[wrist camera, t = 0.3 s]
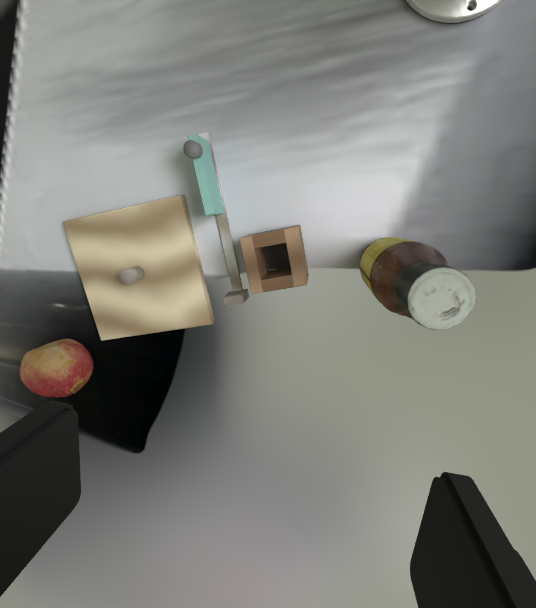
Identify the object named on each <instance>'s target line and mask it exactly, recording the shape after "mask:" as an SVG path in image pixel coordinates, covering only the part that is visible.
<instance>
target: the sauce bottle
mask: <svg viewBox="0 0 536 608" xmlns="http://www.w3.org/2000/svg"><path fill="white" fill-rule="evenodd" d="M360 271H361V275H362V278H363V280H364V282H365V283H366V285H367V286H368V287H369V289H370V290H371V291H372V293H373V294H374V296H375V297H376V298H377V299H378V300H379V302H381V303H382V304H383V305H384V306H385V307H386V308H387V309H388V310H390V311H391V312H394V313H397V314H399V315H403V316H407V317H409V318H412V319H413V320H415V321H416V322H417V323H418V324H420V325H422V326H424V327H426V328H429V329H432V330H444V329H449V328H452V327H455V326H457V325H458V324H460V323H461V322H462V321H463V320H464V319H465V318H466V317H467V316H468V315H469V314H470V312H471V311H472V309H473V307H474V303H475V300H476V297H475V296H476V293H475V289H474V286H473V284H472V282H471V281H470V279H469V278H468V276H467V275H465V274H464V273H463V272H461V271H459V270H457V269H455V268H453V267H450V266H449V264H448V262H447V261H446V259H445V258H444V256H443V255H442V254H441V253H440V252H439V251H437V250H436V249H434V248H433V247H431V246H429V245H426V244H423V243H420V242H414V241H410V240H406V239H400V238H393V237H388V238H382V239H379V240H377V241H375V242H374V243H372V244H371V245H370V246H368V247H367V248H366V249H365V252H364V254H363V255H362V258H361V262H360Z"/></svg>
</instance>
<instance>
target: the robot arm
mask: <svg viewBox="0 0 536 608" xmlns="http://www.w3.org/2000/svg"><path fill="white" fill-rule="evenodd" d="M406 1H407V3H408V4H409V5H410V6H411V7H412V8H413V9H414V10H415V11H417V12H418V13H419V14H421V15H422V16H424V17H426V18H429V19H431V20H433V21H438V22H444V23H458V22H463V21H467V20H471V19H474V18H476V17H479V16H481V15H483V14H485V13H487V12H488V11H490V10H491V9H493V8H495V7H496V6H498V5H499V4H500V3H501V2H502V1H503V0H406ZM467 8H470V10H471V11H469V10H468V9H467ZM80 483H81V482H80V456H79V431H78V414H77V412H76V411H74V409H73V407H72V405H70V404H65V403H60V402H54V401H47V402H45V403H44V404H42V405H41V406H39V407H38V408H36V409H35V410H33V411H32V412H30V413H29V414H27V415H26V416H24V417H23V418H22V419H20V420H19V421H17V422H16V423H14V424H13V425H11V426H10V427H8V428H7V429H6V430H4V431H2V432H1V433H0V596H1V595H2V594H3V593H4V591H6V589H7V588H8V587H9V586H10V585H11V583H12V582H13V581H14V580H15V579H16V577H17V576H18V575H19V574H20V573H21V571H22V570H23V569H24V568H25V567H26V565H27V564H28V563H29V562H30V561H31V559H32V558H33V557H34V556H35V555H36V553H37V552H38V551H39V550H40V549H41V547H42V546H43V545H44V544H45V543H46V541H47V540H48V539H49V538H50V537H51V535H52V534H53V533H54V532H55V531H56V529H57V528H58V527H59V526H60V525H61V523H62V522H63V521H64V520H65V519H66V517H67V516H68V515H69V514H70V513H71V511H72V510H73V509H74V508H75V506H76V505H77V503H78V501H79V498H80V494H81V484H80ZM410 575H411V581H412V584H413V588H414V592H415V596H416V600H417V604H418V608H536V581H535V579H534V577H533V576H532V574H531V572H530V571H529V569H528V567H527V566H526V564H525V562H524V561H523V559H522V558H521V556H520V555H519V554H518V552H517V551H516V550H514V549H513V547H512V545H511V544H510V542H509V541H508V539H507V537H506V535H505V533H504V532H503V530H502V528H501V527H500V525H499V523H498V522H497V520H496V518H495V516H494V515H493V513H492V511H491V510H490V508H489V506H488V505H487V503H486V501H485V500H484V498H483V496H482V494H481V493H480V491H479V490H478V488H477V486H476V484H475V483H474V481H473V480H472V479H471V477H469V476H464V475H459V474H453V473H448V472H444V473H442V475H441V477H440V478H439V477H435V478H434V479H433V481H432V485H431V488H430V492H429V496H428V500H427V503H426V507H425V510H424V514H423V518H422V521H421V525H420V529H419V532H418V536H417V540H416V543H415V547H414V551H413V554H412V558H411V562H410Z"/></svg>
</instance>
